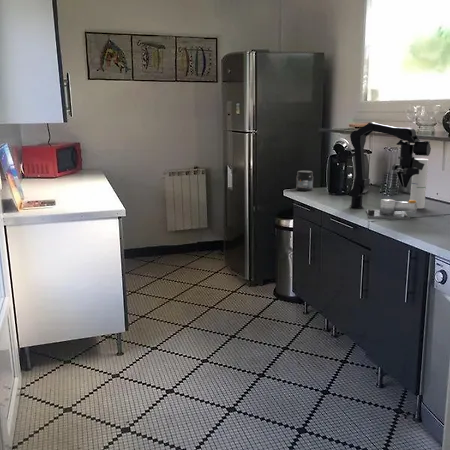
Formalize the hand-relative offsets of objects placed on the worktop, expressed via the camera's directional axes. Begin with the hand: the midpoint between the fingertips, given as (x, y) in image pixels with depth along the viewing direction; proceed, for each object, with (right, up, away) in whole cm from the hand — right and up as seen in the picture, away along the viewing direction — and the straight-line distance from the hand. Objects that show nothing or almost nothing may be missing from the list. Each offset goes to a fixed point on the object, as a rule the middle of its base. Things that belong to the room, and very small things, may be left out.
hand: (403, 187), depth 236 cm
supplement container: (-36, +3, +73) cm, 82 cm away
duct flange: (-9, -14, -2) cm, 16 cm away
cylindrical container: (+13, -9, +18) cm, 24 cm away
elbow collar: (-4, -13, -3) cm, 14 cm away
